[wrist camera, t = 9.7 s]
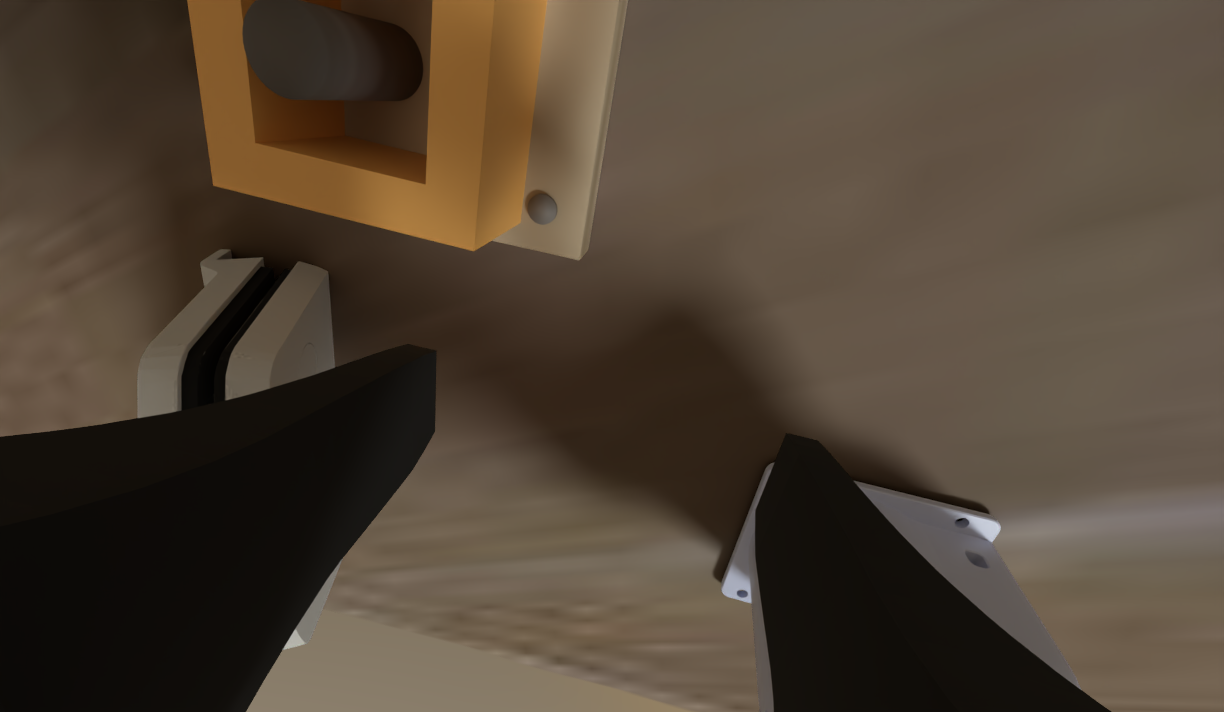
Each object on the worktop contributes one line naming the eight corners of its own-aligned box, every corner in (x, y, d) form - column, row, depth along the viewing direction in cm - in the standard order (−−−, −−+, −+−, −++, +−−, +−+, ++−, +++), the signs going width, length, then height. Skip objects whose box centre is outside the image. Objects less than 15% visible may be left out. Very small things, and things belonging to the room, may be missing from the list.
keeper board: (641, -81, 15) (600, -183, 10) (588, 249, 20) (540, 305, 14) (205, -156, 17) (-50, -287, 11) (247, 173, 21) (82, 198, 16)
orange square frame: (554, -59, 15) (503, -110, 11) (520, 222, 18) (473, 251, 15) (290, -114, 15) (162, -180, 12) (307, 170, 19) (213, 185, 15)
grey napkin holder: (218, 239, 23) (38, 348, 14) (339, 253, 24) (241, 361, 15) (265, 526, 30) (167, 712, 22) (355, 526, 31) (296, 703, 23)
